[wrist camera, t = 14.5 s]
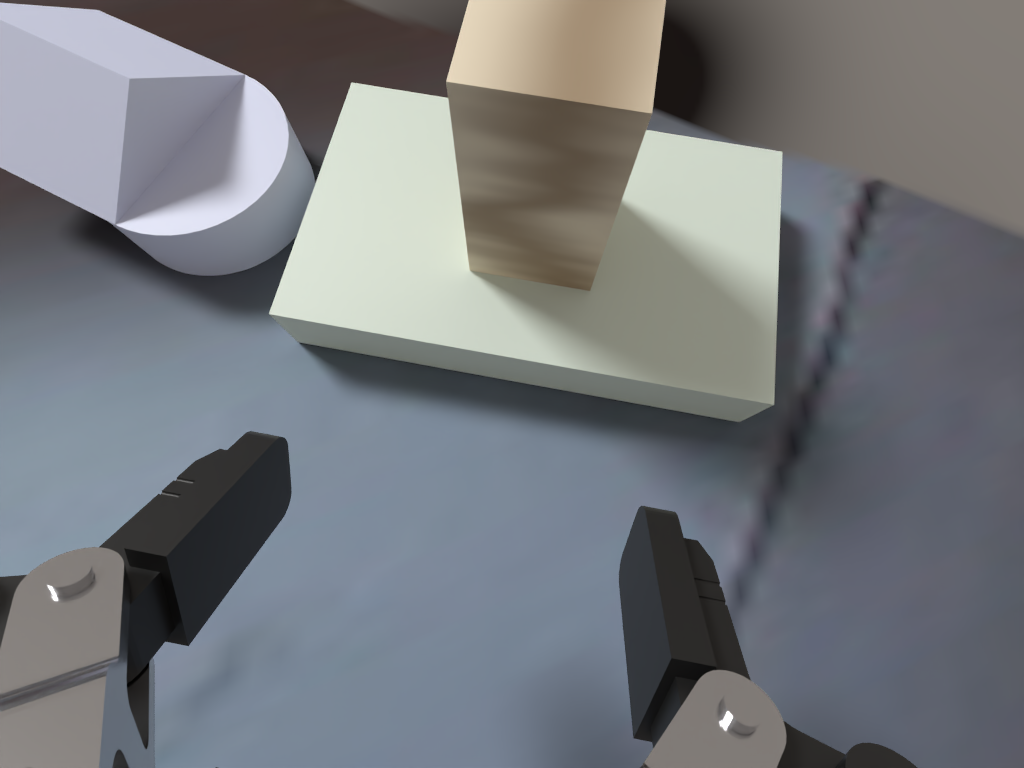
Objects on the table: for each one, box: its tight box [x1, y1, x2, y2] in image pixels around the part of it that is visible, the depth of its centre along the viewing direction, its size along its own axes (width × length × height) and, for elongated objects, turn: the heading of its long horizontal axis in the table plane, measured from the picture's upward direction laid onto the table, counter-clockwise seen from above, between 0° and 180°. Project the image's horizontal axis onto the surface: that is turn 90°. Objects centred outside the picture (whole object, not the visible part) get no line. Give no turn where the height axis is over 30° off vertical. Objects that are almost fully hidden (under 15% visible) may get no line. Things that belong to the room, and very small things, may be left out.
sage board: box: [269, 83, 782, 422], centre depth 23 cm, size 20×12×3 cm, turn 80°
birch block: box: [446, 0, 666, 291], centre depth 17 cm, size 5×5×9 cm
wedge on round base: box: [0, 3, 315, 276], centre depth 22 cm, size 9×7×13 cm
